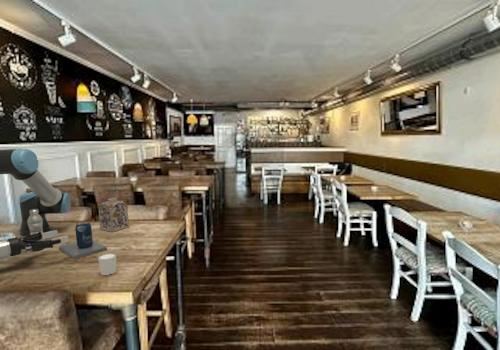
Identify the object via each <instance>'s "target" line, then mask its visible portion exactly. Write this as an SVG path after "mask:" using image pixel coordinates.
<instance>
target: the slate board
mask: <svg viewBox="0 0 500 350" xmlns="http://www.w3.org/2000/svg"><path fill="white" fill-rule="evenodd" d="M58 250H59V251H61V252H62V253H64V254H66V255H67V256H68V257H69V258H72V259H74V260H77V259H82V258H84V257H88V256H91V255H94V254H95V255H96V254H99V253H101V252H105V251H108V246H106V245H103V244H101V243H99V242H97V241H95V240H93V244H92V246H91V247H89V248H85V249H80V248H79V247H78V246H77V241H76V242H71V243H68V244H64V245H59V246H58Z"/></svg>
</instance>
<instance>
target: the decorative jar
mask: <svg viewBox="0 0 500 350" xmlns="http://www.w3.org/2000/svg"><path fill="white" fill-rule="evenodd" d="M128 211H129V210H128V205H127V203H126V202H124V200H121V199H120V200H119V199H117V197H111V198H108V199H107V201H104V202H102V203H101V204H100V205H99V207H98V221H99V228H100V230H102V231H106V232H110V233H114V232H117V231H121V230H125V229H127V228H130V224H129V223H130V221H129V220H130V219H129V213H128Z"/></svg>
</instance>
